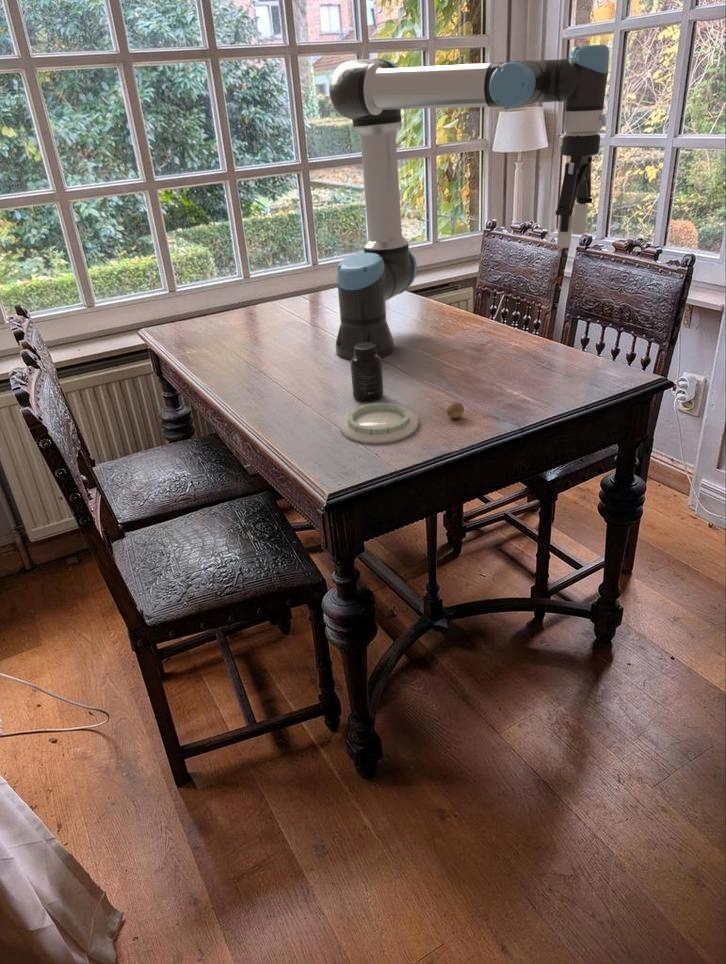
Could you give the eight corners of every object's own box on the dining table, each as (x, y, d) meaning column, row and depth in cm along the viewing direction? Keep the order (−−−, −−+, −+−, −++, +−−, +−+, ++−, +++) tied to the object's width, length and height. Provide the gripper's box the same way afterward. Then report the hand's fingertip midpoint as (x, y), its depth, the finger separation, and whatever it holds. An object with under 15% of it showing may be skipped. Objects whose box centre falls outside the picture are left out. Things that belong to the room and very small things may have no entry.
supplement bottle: (351, 392, 155) (348, 341, 149) (381, 389, 155) (379, 338, 149) (354, 404, 149) (350, 351, 143) (385, 401, 149) (382, 349, 143)
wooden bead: (443, 419, 139) (444, 404, 138) (450, 413, 142) (450, 397, 140) (459, 422, 138) (460, 406, 136) (466, 415, 140) (466, 400, 139)
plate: (325, 434, 137) (324, 425, 135) (363, 404, 148) (362, 394, 147) (396, 449, 130) (396, 439, 128) (430, 415, 141) (430, 406, 140)
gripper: (586, 139, 130) (574, 254, 141) (612, 128, 148) (600, 230, 159) (547, 140, 133) (538, 251, 144) (577, 128, 151) (567, 228, 162)
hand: (571, 240), depth 151 cm, fingers open, 13 cm apart
